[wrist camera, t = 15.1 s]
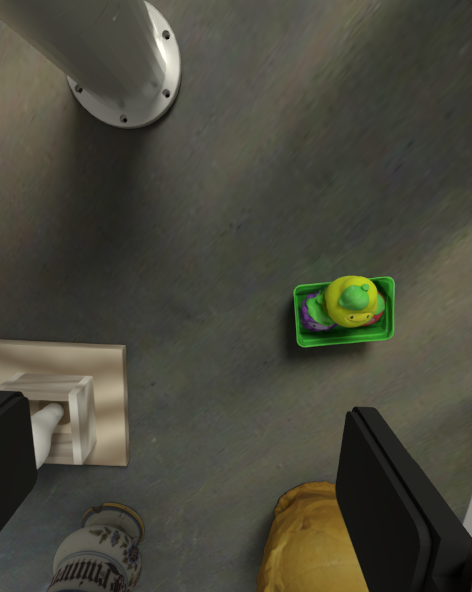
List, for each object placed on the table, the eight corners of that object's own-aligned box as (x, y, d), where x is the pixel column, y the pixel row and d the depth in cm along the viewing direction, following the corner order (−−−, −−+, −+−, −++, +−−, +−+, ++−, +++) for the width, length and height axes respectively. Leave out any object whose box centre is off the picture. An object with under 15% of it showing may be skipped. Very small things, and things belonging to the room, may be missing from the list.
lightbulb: (89, 411, 44) (42, 474, 33) (58, 435, 44) (1, 503, 34) (57, 379, 42) (-3, 433, 32) (25, 404, 43) (-44, 465, 33)
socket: (-9, 338, 43) (-47, 357, 37) (125, 345, 43) (108, 365, 37) (7, 453, 47) (-25, 486, 41) (129, 458, 47) (114, 492, 42)
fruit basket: (290, 333, 43) (308, 373, 32) (285, 268, 41) (304, 287, 30) (375, 325, 43) (424, 362, 32) (375, 259, 40) (427, 274, 30)
